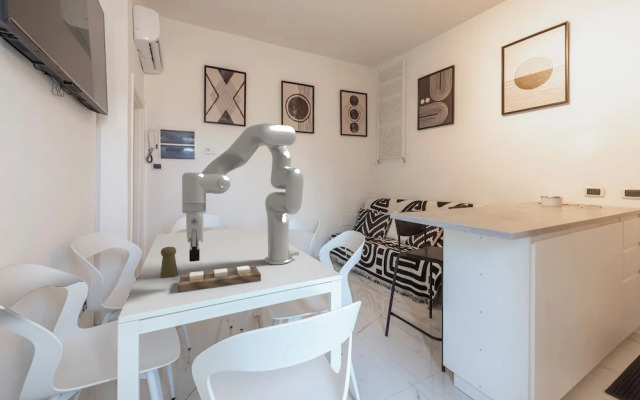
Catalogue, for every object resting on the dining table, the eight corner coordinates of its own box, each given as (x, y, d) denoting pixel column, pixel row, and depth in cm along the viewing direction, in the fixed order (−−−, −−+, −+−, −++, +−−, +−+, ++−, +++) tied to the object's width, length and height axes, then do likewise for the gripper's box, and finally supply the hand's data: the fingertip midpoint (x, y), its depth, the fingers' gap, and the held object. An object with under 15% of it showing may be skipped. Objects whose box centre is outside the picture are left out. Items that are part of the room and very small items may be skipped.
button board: (255, 272, 109) (255, 265, 109) (260, 280, 100) (260, 273, 100) (180, 282, 98) (180, 274, 98) (178, 292, 89) (178, 284, 89)
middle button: (226, 274, 102) (226, 268, 102) (227, 278, 98) (227, 271, 98) (214, 276, 100) (214, 269, 100) (214, 280, 96) (214, 273, 96)
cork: (160, 274, 107) (159, 246, 106) (177, 271, 110) (176, 244, 109) (160, 278, 102) (159, 249, 101) (178, 276, 105) (177, 248, 104)
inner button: (248, 271, 105) (248, 265, 105) (250, 275, 101) (250, 268, 101) (236, 273, 103) (236, 266, 103) (238, 277, 99) (238, 270, 99)
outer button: (203, 277, 99) (203, 270, 99) (203, 281, 95) (203, 274, 95) (190, 279, 97) (190, 272, 97) (189, 283, 93) (189, 276, 93)
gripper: (206, 210, 89) (206, 265, 90) (205, 206, 102) (205, 254, 103) (180, 210, 86) (181, 267, 87) (183, 206, 99) (183, 256, 100)
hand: (194, 260), depth 95 cm, fingers closed
